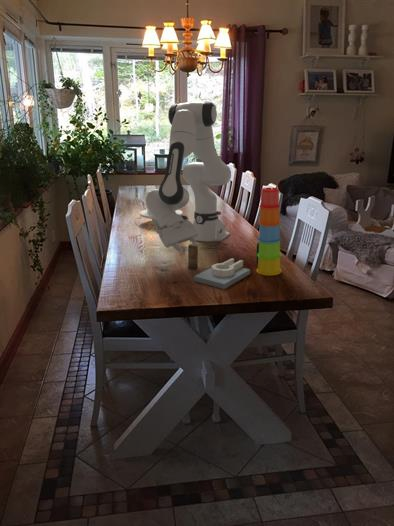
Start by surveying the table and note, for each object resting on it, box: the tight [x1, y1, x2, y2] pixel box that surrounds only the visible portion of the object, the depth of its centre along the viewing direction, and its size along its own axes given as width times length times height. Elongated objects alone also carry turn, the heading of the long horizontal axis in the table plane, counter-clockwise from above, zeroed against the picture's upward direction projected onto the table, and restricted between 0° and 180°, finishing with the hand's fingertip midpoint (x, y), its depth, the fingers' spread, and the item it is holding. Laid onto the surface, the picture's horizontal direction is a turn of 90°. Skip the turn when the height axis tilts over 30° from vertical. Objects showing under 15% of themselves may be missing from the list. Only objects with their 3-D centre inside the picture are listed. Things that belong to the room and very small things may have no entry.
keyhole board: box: [193, 257, 251, 290], centre depth 175 cm, size 22×14×4 cm, turn 145°
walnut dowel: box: [187, 243, 199, 271], centre depth 184 cm, size 4×4×10 cm
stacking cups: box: [256, 187, 282, 277], centre depth 176 cm, size 10×10×35 cm
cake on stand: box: [139, 190, 183, 227], centre depth 256 cm, size 25×25×19 cm
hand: (189, 249), depth 183 cm, fingers open, 8 cm apart
